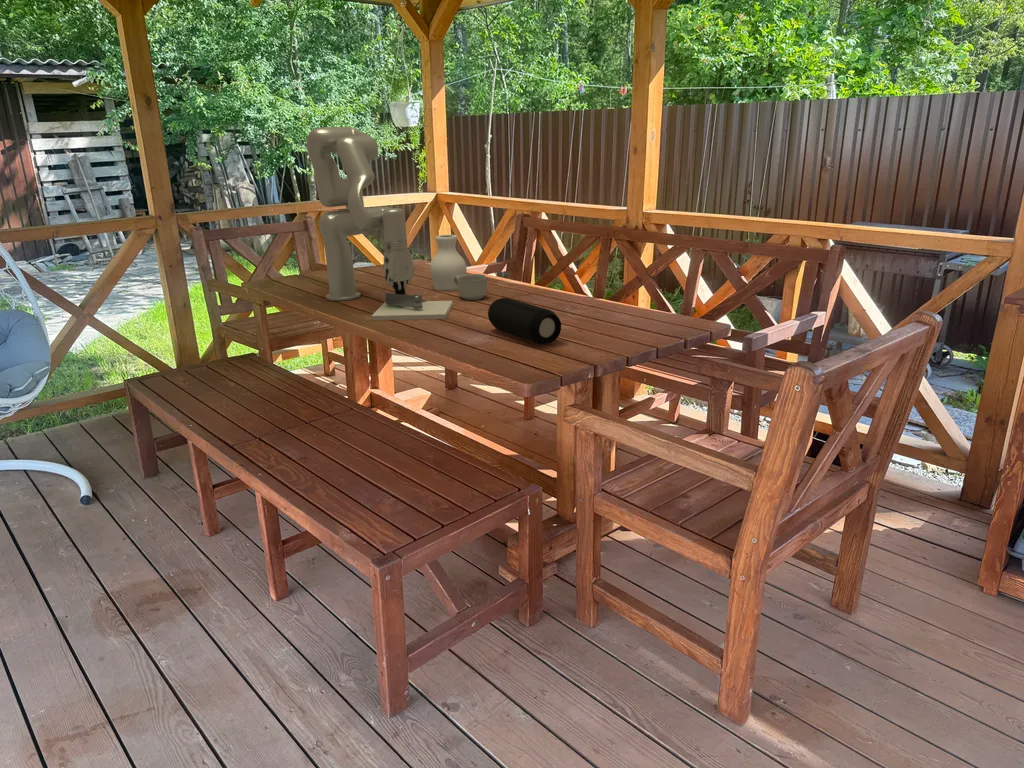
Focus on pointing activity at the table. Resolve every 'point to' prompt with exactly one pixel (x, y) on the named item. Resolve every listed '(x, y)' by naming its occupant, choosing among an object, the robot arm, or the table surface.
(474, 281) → the teacup
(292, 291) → the table surface
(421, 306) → the grey rectangular bar
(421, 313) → the dial board
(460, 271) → the vase
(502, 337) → the table surface
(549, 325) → the portable speaker
